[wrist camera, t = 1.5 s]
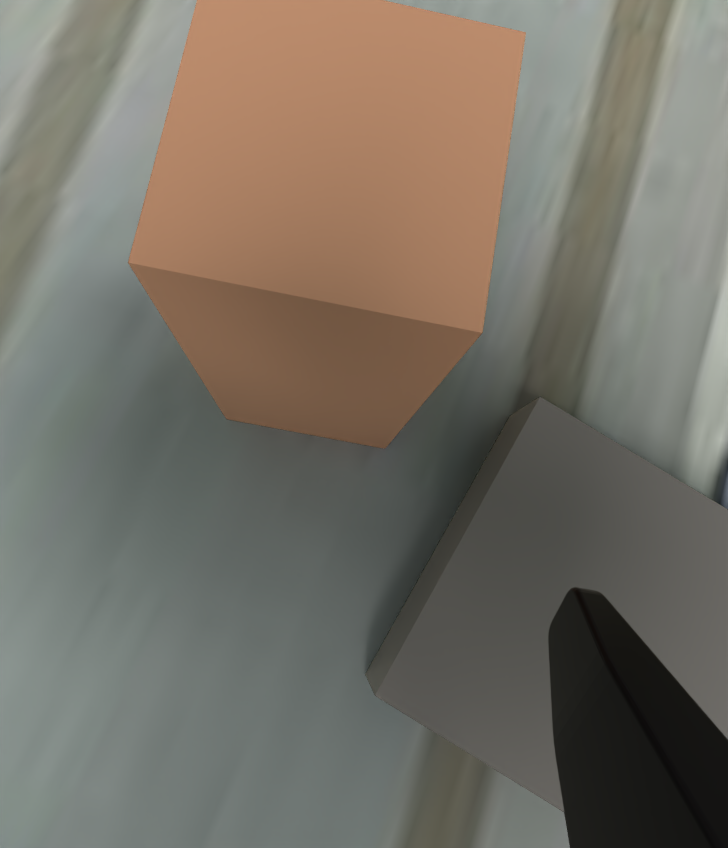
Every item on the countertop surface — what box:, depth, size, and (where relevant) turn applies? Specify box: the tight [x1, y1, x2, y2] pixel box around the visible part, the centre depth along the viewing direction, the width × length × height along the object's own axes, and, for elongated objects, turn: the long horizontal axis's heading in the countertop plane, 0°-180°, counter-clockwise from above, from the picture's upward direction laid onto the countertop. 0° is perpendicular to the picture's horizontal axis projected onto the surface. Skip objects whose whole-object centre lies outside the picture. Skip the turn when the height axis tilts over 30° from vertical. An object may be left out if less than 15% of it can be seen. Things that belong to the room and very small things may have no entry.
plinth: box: [365, 397, 728, 812], centre depth 20 cm, size 10×10×3 cm
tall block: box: [128, 0, 526, 449], centre depth 17 cm, size 6×6×12 cm
